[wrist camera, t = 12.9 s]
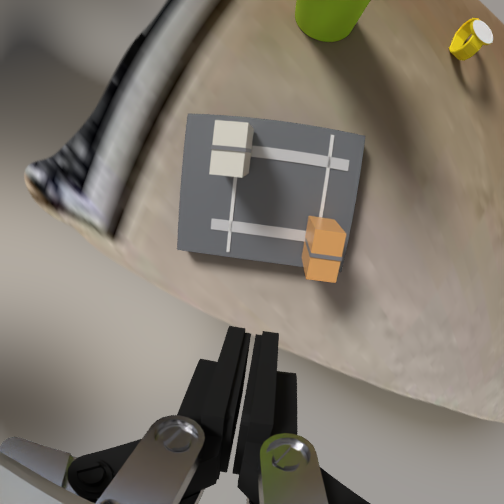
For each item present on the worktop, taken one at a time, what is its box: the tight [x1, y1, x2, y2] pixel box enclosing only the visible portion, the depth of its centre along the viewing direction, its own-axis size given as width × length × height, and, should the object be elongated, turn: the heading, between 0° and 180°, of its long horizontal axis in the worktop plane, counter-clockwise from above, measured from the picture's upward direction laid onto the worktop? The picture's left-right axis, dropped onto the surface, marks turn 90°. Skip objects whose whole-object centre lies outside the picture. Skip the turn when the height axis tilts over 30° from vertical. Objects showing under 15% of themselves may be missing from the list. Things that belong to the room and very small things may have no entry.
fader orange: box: [302, 216, 346, 283], centre depth 25 cm, size 2×4×5 cm, turn 173°
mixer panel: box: [177, 114, 365, 272], centre depth 27 cm, size 16×13×2 cm
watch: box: [449, 18, 493, 60], centre depth 18 cm, size 6×3×6 cm, turn 150°
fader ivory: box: [209, 120, 254, 178], centre depth 23 cm, size 2×4×5 cm, turn 173°
